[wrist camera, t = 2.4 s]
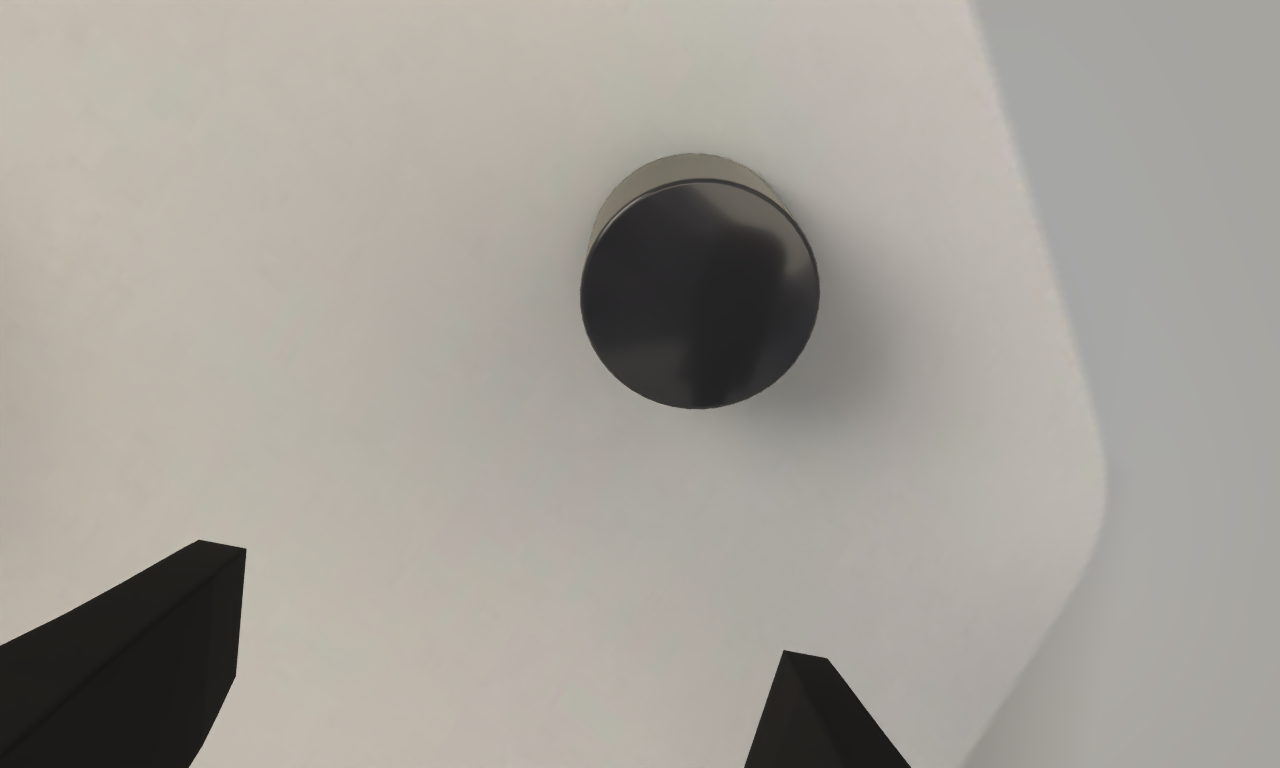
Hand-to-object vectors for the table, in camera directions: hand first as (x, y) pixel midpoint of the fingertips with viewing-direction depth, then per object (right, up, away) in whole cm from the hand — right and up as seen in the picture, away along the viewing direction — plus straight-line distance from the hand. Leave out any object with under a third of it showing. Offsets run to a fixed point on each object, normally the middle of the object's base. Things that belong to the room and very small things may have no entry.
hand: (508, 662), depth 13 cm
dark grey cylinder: (+3, +6, +8) cm, 10 cm away
